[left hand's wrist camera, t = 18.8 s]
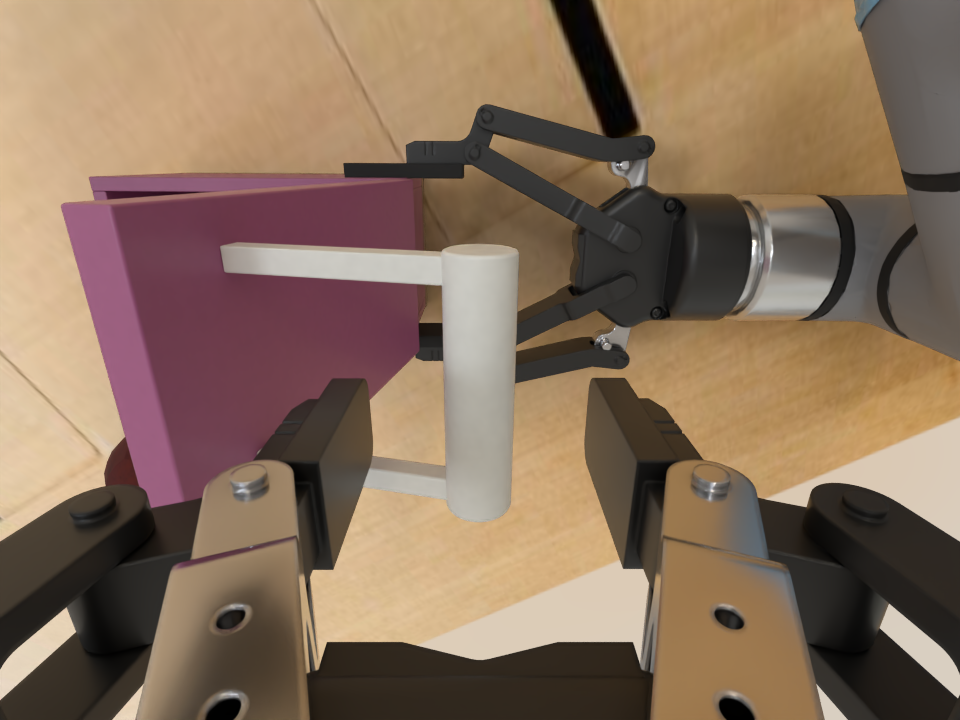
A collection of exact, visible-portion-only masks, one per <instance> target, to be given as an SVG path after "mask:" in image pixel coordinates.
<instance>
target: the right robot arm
mask: <svg viewBox="0 0 960 720" xmlns="http://www.w3.org/2000/svg"><path fill="white" fill-rule="evenodd" d="M854 3H855V9H856V16H855V22H856V25H857V27H858V31H860V32H861V33H862V36H863V40H864V43H865V46H866V50H867V53H868V57H869V60H870V64H871V67H872V71H873V74H874V77H875V81H876V84H877V88H878V91H879V95H880V98H881V101H882V105H883V108H884V112H885V115H886V119H887V122H888V126H889V129H890V132H891V136H892V139H893V143H894V146H895V150H896V153H897V156H898V160H899V163H900V167H901V171H902V175H903V179H904V182H905V185H906V189H907V193H908V195H856V196H825V195H798V194H745V195H741V196H739V197H737V198H735V197H734V196H732V195H729V194H662V193H659V192H657V191H655V190H654V189H652V188H651V187H649V186H648V157H650V156H651V155H652V154H653V152H654V150H655V142H654V140H653V139H652V138H651V137H650V136H647V135H642V136H633V137H624V138H616V139H612V138H608V137H605V136H601V135H598V134H594V133H590V132H587V131H583V130H580V129H576V128H572V127H569V126H565V125H562V124H558V123H554V122H551V121H547V120H544V119H540V118H536V117H533V116H529V115H526V114H522V113H518V112H515V111H511V110H508V109H504V108H500V107H497V106H493V105H488V104H485V105H483V106H481V107H480V108H479V109H478V111H477V113H476V117H475V120H474V123H473V126H472V129H471V131H470V134H469V135H468V136H467V138H465V139H464V140H461V141H414V142H412V143H409V144H407V145H406V156H407V163H344V175H345V177H361V178H462V179H463V178H464V165H473V166H475V167H477V168H478V169H480V170H482V171H484V172H485V173H487V174H489V175H491V176H493V177H494V178H496V179H498V180H500V181H502V182H503V183H505V184H507V185H509V186H510V187H512V188H514V189H516V190H518V191H519V192H521V193H523V194H525V195H527V196H528V197H530V198H532V199H534V200H535V201H537V202H539V203H541V204H543V205H544V206H546V207H548V208H550V209H552V210H553V211H555V212H557V213H559V214H560V215H562V216H564V217H566V218H568V219H569V220H571V221H573V222H575V223H576V224H577V226H576V229H575V230H573V235H572V245H573V250H574V258H573V261H572V264H571V267H570V279H569V280H570V281H571V284H569V285H567V286H565V287H563V288H561V289H559V290H558V291H557V292H556V293H555V294H553V295H551V296H549V297H547V298H545V299H543V300H541V301H539V302H537V303H535V304H533V305H531V306H529V307H527V308H525V309H523V310H521V311H519V312H517V335H516V345H518V344H520V343H522V342H524V341H526V340H528V339H530V338H532V337H534V336H537V335H539V334H541V333H543V332H545V331H547V330H549V329H551V328H553V327H555V326H557V325H560V324H562V323H564V322H566V321H569V320H576V319H578V318H581V317H583V316H585V315H587V314H589V313H591V312H593V311H595V310H597V311H598V312H600V313H601V314H602V315H604V316H605V317H606V318H608V319H609V320H610V321H612V324H611V325H610V326H609V327H608V328H607V329H603V330H598V331H596V332H595V333H594V335H593V337H581V338H575V339H571V340H566V341H562V342H557V343H553V344H548V345H544V346H539V347H535V348H530V349H526V350H521V351H517V352H516V364H515V383H519V382H523V381H528V380H532V379H537V378H542V377H546V376H551V375H555V374H560V373H565V372H569V371H574V370H578V369H583V368H588V367H592V366H593V367H602V368H611V369H623V368H625V367H626V366H627V365H628V364H629V356H628V354H627V353H626V346H627V342H628V338H629V333H630V329H631V327H634V326H636V325H638V324H640V323H642V322H645V321H649V320H719V319H721V318H723V317H725V318H727V319H728V320H732V321H771V320H799V321H809V320H818V321H856V322H864V323H869V324H872V325H875V326H877V327H880V328H882V329H885V330H887V331H889V332H892V333H894V334H896V335H899V336H901V337H904V338H906V339H909V340H912V341H915V342H917V343H919V344H922V345H924V346H926V347H929V348H931V349H933V350H936V351H938V352H940V353H943V354H945V355H947V356H949V357H952V358H954V359H956V360H959V361H960V0H854ZM493 134H496V135H500V136H503V137H507V138H511V139H514V140H518V141H522V142H525V143H529V144H533V145H536V146H540V147H544V148H547V149H551V150H555V151H558V152H562V153H566V154H569V155H573V156H577V157H580V158H584V159H588V160H592V161H599V162H608V170H609V172H610V173H611V174H612V175H615V176H620V177H622V178H623V179H624V180H625V182H626V188H624V189H623V190H621V191H620V192H619V193H617V194H616V195H614V196H613V197H611V198H610V199H609V200H607V201H606V202H604V203H603V204H602V205H600V206H599V207H597V208H594V207H592V206H591V205H589V204H587V203H585V202H584V201H582V200H580V199H578V198H576V197H574V196H573V195H571V194H569V193H567V192H566V191H564V190H562V189H560V188H559V187H557V186H555V185H553V184H552V183H550V182H548V181H546V180H545V179H543V178H541V177H539V176H538V175H536V174H534V173H532V172H531V171H529V170H527V169H525V168H524V167H522V166H520V165H518V164H516V163H515V162H513V161H511V160H509V159H508V158H506V157H504V156H502V155H501V154H499V153H497V152H495V151H494V150H492V149H490V148H488V147H489V144H490V142H491V139H492V136H493ZM418 325H419V352H418V353H417V354H416V358H417V359H420V360H423V361H443V323H419V324H418Z"/></svg>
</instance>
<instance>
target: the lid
mask: <svg viewBox="0 0 960 720" xmlns="http://www.w3.org/2000/svg"><path fill="white" fill-rule="evenodd" d="M61 209H62V212H63V216H64V220H65V223H66V227H67V230H68V234H69V237H70V241H71V245H72V248H73V252H74V255H75V259H76V262H77V266H78V270H79V273H80V277H81V280H82V284H83V287H84V291H85V294H86V298H87V302H88V305H89V309H90V312H91V316H92V319H93V323H94V327H95V330H96V334H97V337H98V341H99V344H100V348H101V352H102V355H103V359H104V362H105V366H106V369H107V373H108V377H109V380H110V384H111V387H112V391H113V394H114V398H115V401H116V405H117V409H118V412H119V416H120V419H121V423H122V426H123V430H124V434H125V437H126V441H127V444H128V448H129V451H130V455H131V459H132V462H133V466H134V469H135V473H136V476H137V480H138V484H139V487H141V488H143V489H144V490H145V491H146V493H147V495H148V499H149V502H150V505H151V508H153V507H158V506H164V505H169V504H174V503H179V502H185V501H190V500H194V499H198V498H201V497H203V492H204V489H205V487H206V485H207V483H208V482H209V481H210V480H211V479H212V478H213V477H215V476H216V475H217V474H219V473H220V472H222V471H224V470H226V469H228V468H230V467H232V466H235V465H237V464H241V463H244V462H248V461H253V460H254V458H255V457H256V456H257V454H258V453H259V452H260V450H261V449H262V448H263V446H264V445H265V444H266V442H267V441H268V440H269V438H270V437H271V436H272V434H275V431H276V429H277V428H278V427H279V425H280V424H282V421H283V420H284V419H285V417H286V416H287V415H288V413H289V412H290V411H291V409H293V408H295V407H296V406H298V405H299V404H301V403H303V402H304V401H306V400H308V399H318V398H319V397H320V395H321V394H322V392H323V391H324V390H325V388H326V387H327V385H328V384H329V382H330V381H331V379H333V378H365V379H366V381H367V384H368V390H369V400H370V399H371V398H372V397H373V396H374V395H375V394H376V393H377V392H378V391H379V390H380V389H381V388H382V387H383V386H384V385H385V384H386V383H387V382H388V381H389V380H390V379H391V378H392V377H393V376H394V375H395V374H397V373H398V372H399V371H400V370H401V369H402V368H403V367H404V366H405V365H406V364H407V363H408V362H409V361H410V360H411V359H412V358H413V357H414V356H415V355H416V354H417V353H418V352H419V325H418V300H417V284H422V285H438V286H442V318H443V365H444V412H445V458H446V466H440V465H433V464H426V463H419V462H412V461H405V460H397V459H390V458H383V457H376V456H372V461H371V466H370V469H369V471H368V474H367V477H366V480H365V482H364V485H363V487H366V488H373V489H379V490H385V491H392V492H398V493H405V494H411V495H418V496H424V497H431V498H437V499H444V500H446V502H447V506H448V508H449V510H450V511H451V512H452V513H453V514H454V515H455V516H457V517H459V518H461V519H463V520H466V521H471V522H487V521H491V520H494V519H497V518H499V517H501V516H502V515H503V514H505V513H506V512H507V510H508V508H509V507H510V504H511V483H512V453H513V423H514V394H515V364H516V335H517V305H518V275H519V252H518V250H517V249H515V248H512V247H509V246H504V245H495V244H463V245H455V246H450V247H447V248H445V249H443V250H442V252H438V251H417V250H416V249H415V224H414V198H413V180H411V179H385V180H371V181H357V182H343V183H330V184H316V185H302V186H289V187H275V188H261V189H247V190H234V191H220V192H206V193H192V194H179V195H165V196H151V197H138V198H124V199H110V200H96V201H83V202H69V203H64V204H62V205H61Z"/></svg>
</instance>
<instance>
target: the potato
mask: <svg viewBox="0 0 960 720" xmlns="http://www.w3.org/2000/svg"><path fill="white" fill-rule="evenodd" d="M104 476H105V484H106V486H110V485H118V484H129V485H135V486H139V484H138V480H137V476H136V473H135V469H134V466H133V462H132V459H131V455H130V451H129V448H128V444H127V441H126V437H125V438H124V439H123V440H122V441H121V442H120V443H119V444H118V445H117V446H116V447H115V449H114V450H113V451H112V452H111V455H110V457H109V459H108V461H107V465H106V469H105V472H104Z"/></svg>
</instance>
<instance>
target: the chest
mask: <svg viewBox="0 0 960 720" xmlns="http://www.w3.org/2000/svg"><path fill="white" fill-rule="evenodd" d="M385 179H411V180H413V198H414V224H415V249H416V250H417V251H425V222H424V191H423V178H361V177H345V175H344V174H287V173H177V174H150V175H123V176H96V177H89V180H90V184H91V188H92V191H93V195H94V199H95V201H96V200H110V199H124V198H138V197H151V196H165V195H179V194H192V193H206V192H220V191H234V190H247V189H261V188H275V187H289V186H302V185H316V184H330V183H343V182H357V181H371V180H385ZM417 300H418V324H419V321H420V319H421V316H422V314H423V311H424V308H425V307H426V304H427V285H422V284H417Z"/></svg>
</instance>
